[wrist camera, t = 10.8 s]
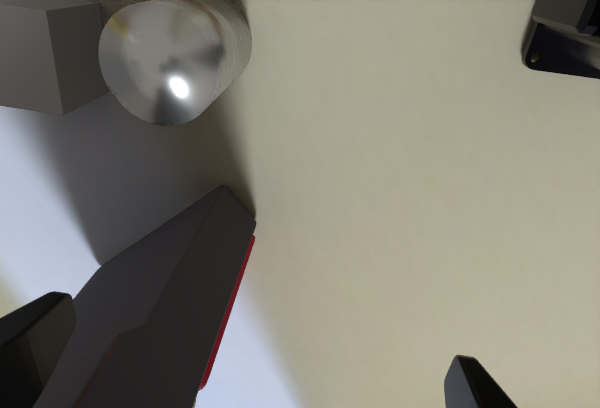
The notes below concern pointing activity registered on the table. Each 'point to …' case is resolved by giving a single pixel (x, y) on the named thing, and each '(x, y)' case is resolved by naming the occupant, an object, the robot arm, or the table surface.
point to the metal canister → (173, 56)
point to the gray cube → (50, 54)
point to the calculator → (156, 313)
